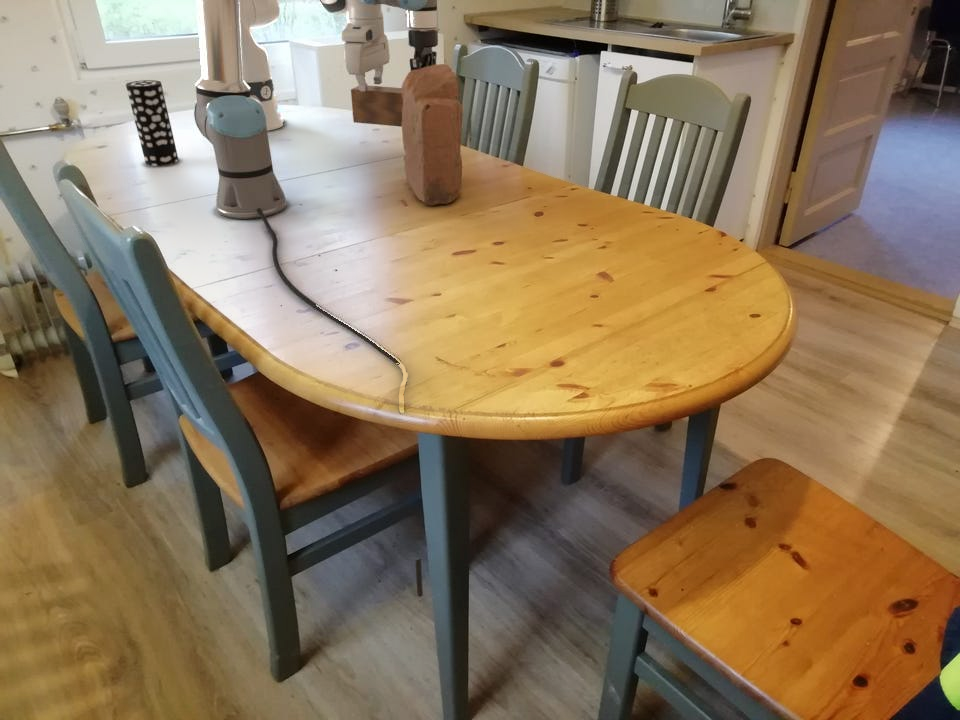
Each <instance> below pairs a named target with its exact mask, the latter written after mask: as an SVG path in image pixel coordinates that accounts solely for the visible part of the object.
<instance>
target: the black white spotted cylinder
mask: <svg viewBox="0 0 960 720" xmlns="http://www.w3.org/2000/svg"><path fill="white" fill-rule="evenodd" d="M125 87H126V91H127V95H128V99H129V103H130V107H131V110H132V115H133V118H134V122H135V123H134V124H135V127H136V130H137V134H138V139H139V143H140V146H141V150H142V155H143V158H144V163H145V164H146V165H147V166H151V167H164V166H170V165H174V164H176V163H178V162H179V155H178V150H177V146H176V142H175V137H174V133H173V128H172V125H171V121H170V116H169V111H168V107H167V103H166V98H165V93H164V89H163V84H162V81H161V80H155V79H154V80H153V79H151V80H150V79H145V80H144V79H141V80H134V81H130V82H129V81H128V82H127V83H126V84H125Z"/></svg>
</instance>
